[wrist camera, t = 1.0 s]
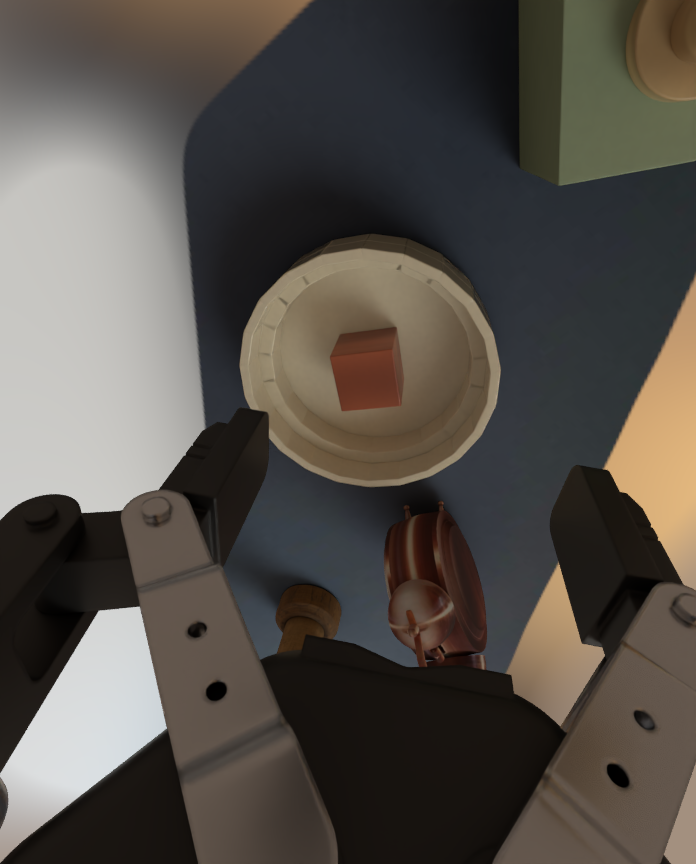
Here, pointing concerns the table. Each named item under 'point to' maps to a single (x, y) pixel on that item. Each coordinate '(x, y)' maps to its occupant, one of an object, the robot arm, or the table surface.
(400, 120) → the table surface
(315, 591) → the mortar and pestle
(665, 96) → the stick
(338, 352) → the block
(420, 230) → the table surface
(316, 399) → the bowl
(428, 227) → the table surface
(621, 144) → the stand
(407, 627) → the alarm clock
